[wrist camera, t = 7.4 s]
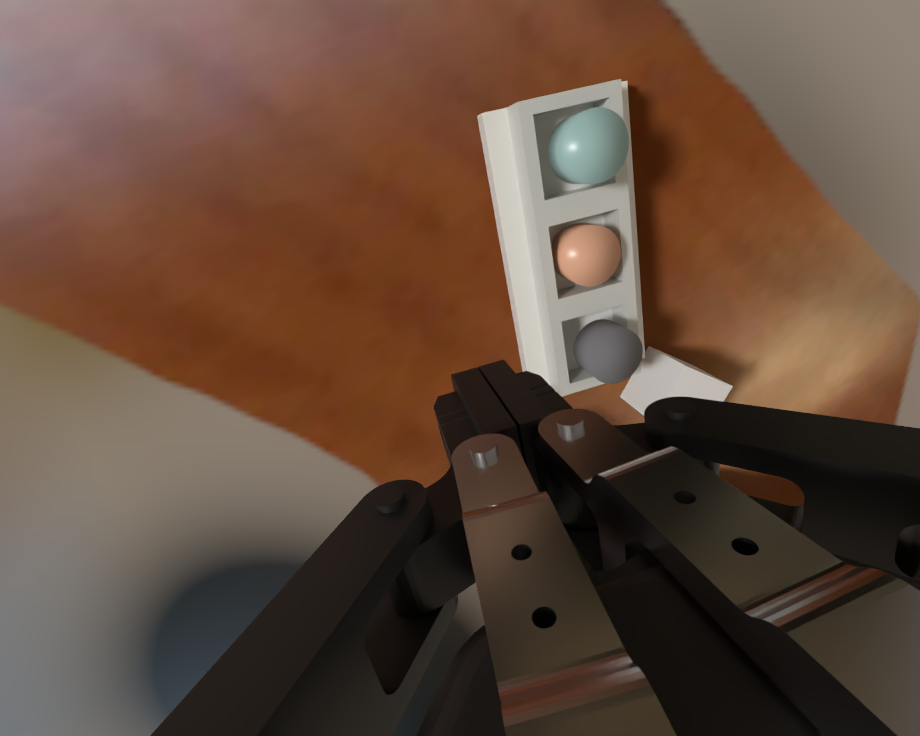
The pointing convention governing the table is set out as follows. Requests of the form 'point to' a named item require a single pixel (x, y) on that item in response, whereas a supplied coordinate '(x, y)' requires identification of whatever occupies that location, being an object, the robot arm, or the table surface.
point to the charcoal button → (608, 351)
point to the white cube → (670, 381)
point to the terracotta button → (586, 254)
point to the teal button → (588, 146)
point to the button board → (543, 217)
